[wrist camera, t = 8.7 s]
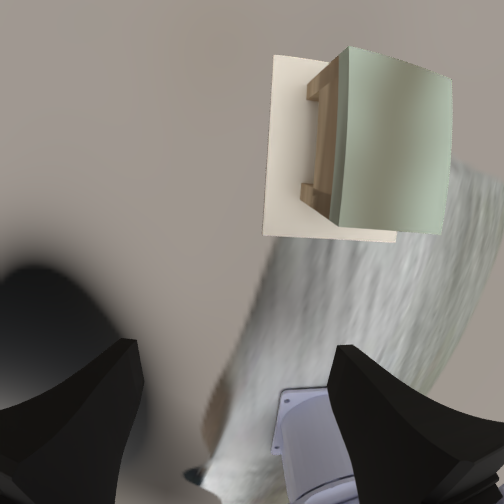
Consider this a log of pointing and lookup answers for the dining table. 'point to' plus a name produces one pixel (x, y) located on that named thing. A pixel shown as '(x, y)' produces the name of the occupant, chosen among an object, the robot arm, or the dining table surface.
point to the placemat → (298, 158)
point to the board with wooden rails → (381, 144)
